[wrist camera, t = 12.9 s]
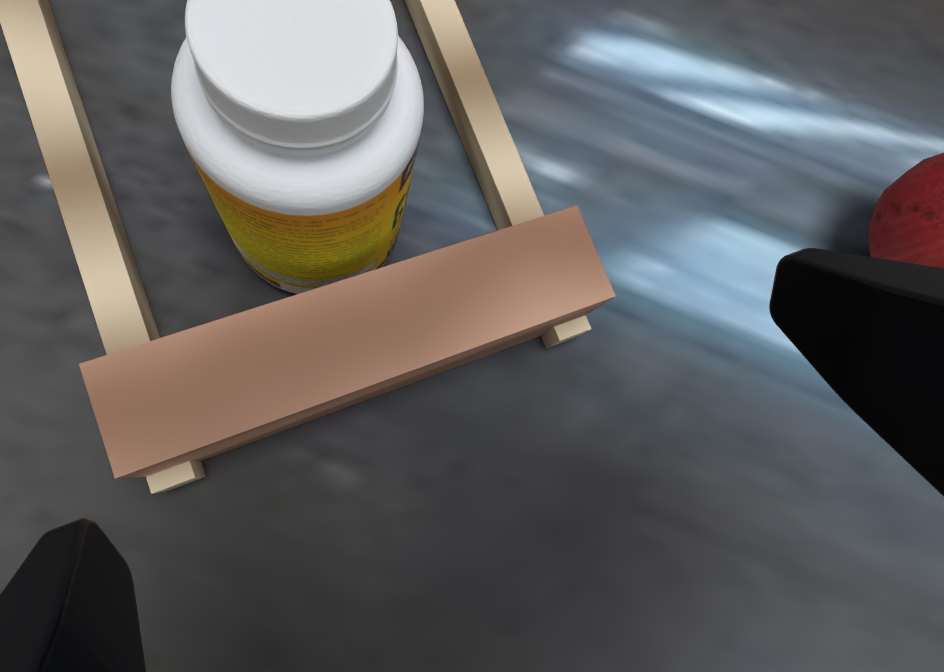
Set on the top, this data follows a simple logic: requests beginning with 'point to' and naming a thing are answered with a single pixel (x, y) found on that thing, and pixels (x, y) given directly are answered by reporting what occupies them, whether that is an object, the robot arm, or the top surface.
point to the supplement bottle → (301, 130)
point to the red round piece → (911, 217)
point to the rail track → (309, 313)
